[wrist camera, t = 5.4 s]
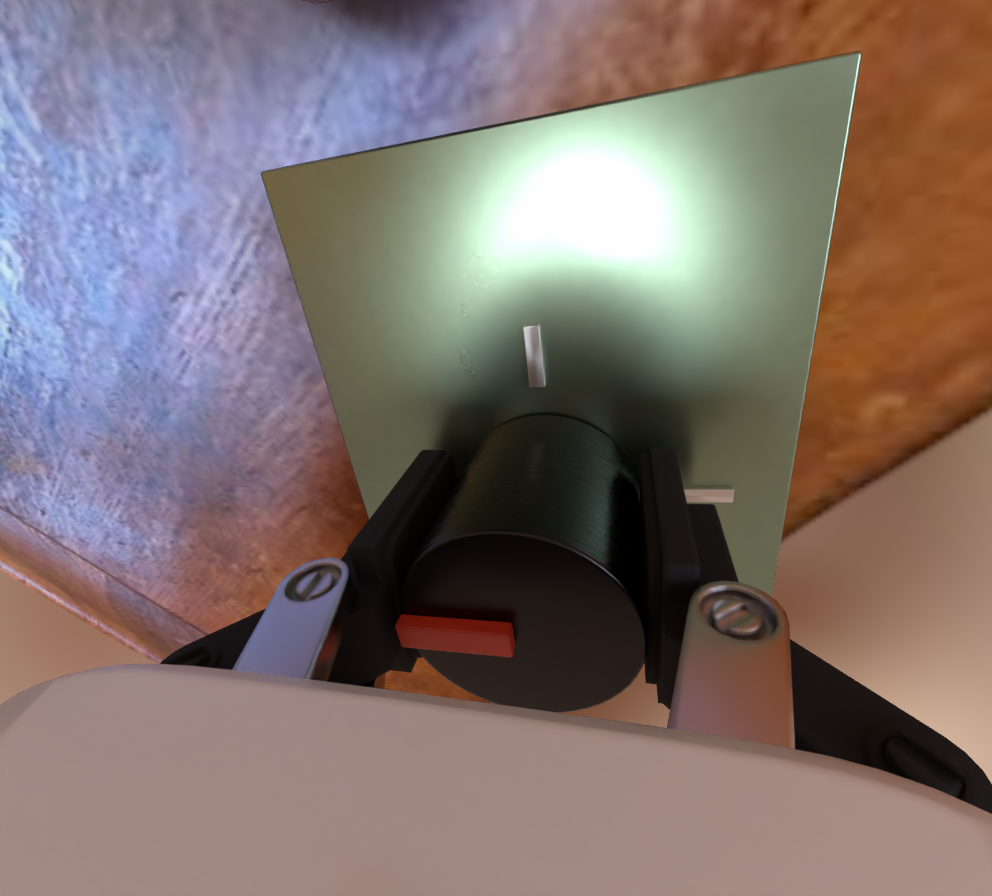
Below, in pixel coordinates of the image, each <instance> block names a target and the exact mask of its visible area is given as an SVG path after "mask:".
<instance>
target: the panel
mask: <svg viewBox="0 0 992 896" xmlns="http://www.w3.org/2000/svg"><path fill="white" fill-rule="evenodd" d="M861 58H862V52H860V51H855V52H850V53H845V54H840V55H835V56H830V57H825V58H820V59H815V60H810V61H805V62H800V63H795V64H790V65H786V66H781V67H776V68H771V69H766V70H761V71H756V72H751V73H746V74H741V75H736V76H731V77H726V78H721V79H716V80H711V81H706V82H701V83H696V84H692V85H687V86H682V87H677V88H672V89H667V90H662V91H657V92H652V93H647V94H642V95H637V96H632V97H627V98H622V99H617V100H612V101H607V102H602V103H598V104H593V105H588V106H583V107H578V108H573V109H568V110H563V111H558V112H553V113H548V114H543V115H538V116H533V117H528V118H523V119H518V120H513V121H508V122H504V123H499V124H494V125H489V126H484V127H479V128H474V129H469V130H464V131H459V132H454V133H449V134H444V135H439V136H434V137H429V138H424V139H419V140H414V141H410V142H405V143H400V144H395V145H390V146H385V147H380V148H375V149H370V150H365V151H360V152H355V153H350V154H345V155H340V156H335V157H330V158H325V159H321V160H316V161H311V162H306V163H301V164H296V165H291V166H286V167H281V168H276V169H271V170H266V171H263V172H261V176H262V180H263V183H264V186H265V189H266V192H267V196H268V199H269V202H270V205H271V208H272V212H273V215H274V218H275V221H276V224H277V227H278V231H279V234H280V237H281V240H282V243H283V247H284V250H285V253H286V256H287V259H288V263H289V266H290V269H291V272H292V275H293V279H294V282H295V285H296V288H297V291H298V295H299V298H300V301H301V304H302V307H303V311H304V314H305V317H306V320H307V323H308V326H309V330H310V333H311V336H312V339H313V342H314V346H315V349H316V352H317V355H318V358H319V362H320V365H321V368H322V371H323V374H324V378H325V381H326V384H327V387H328V390H329V394H330V397H331V400H332V403H333V406H334V410H335V413H336V416H337V419H338V422H339V426H340V429H341V432H342V435H343V438H344V441H345V445H346V448H347V451H348V454H349V457H350V461H351V464H352V467H353V470H354V473H355V477H356V480H357V483H358V486H359V489H360V493H361V496H362V499H363V502H364V505H365V509H366V512H367V515H368V518H369V519H370V518H371V516H372V515H373V514H374V512H375V511H376V510H377V508H378V507H379V506H380V504H381V503H382V502H383V500H384V499H385V498H386V497H387V495H388V494H389V493H390V491H391V490H392V489H393V487H394V486H395V485H396V483H397V482H398V481H399V479H400V478H401V477H402V475H403V474H404V473H405V471H406V470H407V469H408V467H409V466H410V465H411V464H412V462H413V461H414V460H415V458H416V457H417V456H418V454H419V453H420V452H421V451H422V450H445V452H446V453H447V455H451V456H452V457H453V459H454V463H455V469H456V474H457V479H459V477H460V475H461V473H462V472H463V470H464V468H465V466H466V464H467V463H468V461H469V459H470V457H471V455H472V454H473V452H474V450H475V448H476V447H477V446H478V444H479V443H480V442H481V441H482V440H483V439H484V438H485V437H486V436H487V435H488V434H489V433H490V432H492V431H493V430H494V429H496V428H497V427H499V426H501V425H503V424H505V423H507V422H510V421H513V420H515V419H519V418H523V417H527V416H536V415H554V416H561V417H567V418H570V419H574V420H577V421H580V422H583V423H585V424H588V425H590V426H591V427H593V428H595V429H597V430H599V431H600V432H602V433H603V434H604V435H606V436H607V437H609V438H610V439H611V440H612V441H613V442H614V443H615V444H616V445H617V446H618V447H619V448H620V449H621V450H622V452H623V453H624V454H625V455H626V457H627V459H628V460H629V462H630V464H631V466H632V468H633V470H634V473H635V476H636V480H637V483H638V493H639V492H640V454H649V449H650V448H675V451H676V456H677V460H678V465H679V469H680V474H681V479H682V483H683V488H684V492H685V497H686V502H687V504H714V505H715V507H716V509H717V513H718V516H719V519H720V522H721V526H722V529H723V532H724V535H725V539H726V542H727V545H728V549H729V552H730V555H731V558H732V562H733V565H734V568H735V571H736V575H737V578H738V581H739V582H740V583H744V584H747V585H750V586H753V587H756V588H757V589H759V590H761V591H763V592H765V593H767V594H768V595H770V596H771V597H772V591H773V586H774V580H775V574H776V568H777V561H778V555H779V550H780V544H781V538H782V532H783V526H784V520H785V514H786V508H787V502H788V496H789V490H790V484H791V478H792V472H793V466H794V460H795V454H796V448H797V442H798V436H799V430H800V424H801V418H802V412H803V406H804V400H805V394H806V388H807V382H808V376H809V370H810V364H811V358H812V352H813V346H814V340H815V334H816V328H817V322H818V316H819V310H820V304H821V298H822V292H823V286H824V280H825V274H826V268H827V262H828V256H829V250H830V244H831V238H832V232H833V226H834V220H835V214H836V208H837V202H838V196H839V190H840V184H841V178H842V172H843V166H844V160H845V154H846V148H847V142H848V136H849V130H850V124H851V118H852V112H853V106H854V100H855V94H856V88H857V82H858V76H859V70H860V64H861Z"/></svg>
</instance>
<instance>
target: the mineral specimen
mask: <svg viewBox="0 0 992 896" xmlns="http://www.w3.org/2000/svg"><path fill="white" fill-rule="evenodd" d="M303 1H307V2H310V3H324V2H334V1H337V0H303Z"/></svg>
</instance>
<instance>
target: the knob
mask: <svg viewBox="0 0 992 896" xmlns="http://www.w3.org/2000/svg"><path fill="white" fill-rule="evenodd" d="M400 610H401V615H400V617H399V619H398V621H397V623H396V625H395V628H396V631H397V634H398V637H399V640H400V643H401V646H402V647H407V648H416V649H417V650H418V651H419V653H420V654H421V655H422V656H423V658H424V659H425V660H426V661H427V662H428V663H429V664H430V665H431V666H432V667H433V668H434V669H435V670H436V671H438V672H439V673H440V674H441V675H442V676H444V677H445V678H446V679H448V680H449V681H450V682H452V683H454V684H455V685H457V686H458V687H460V688H462V689H463V690H465V691H467V692H469V693H471V694H473V695H475V696H477V697H480V698H482V699H485V700H487V701H490V702H493V703H496V704H499V705H506V706H513V707H521V708H528V709H535V710H542V711H549V712H556V713H561V712H571V711H577V710H582V709H587V708H590V707H593V706H596V705H599V704H601V703H604V702H606V701H608V700H610V699H612V698H614V697H615V696H617V695H618V694H620V693H621V692H622V691H624V690H625V689H626V688H627V687H628V686H629V685H630V684H631V683H632V682H633V681H634V679H635V678H636V677H637V675H638V674H639V672H640V670H641V668H642V666H643V664H644V661H645V658H646V655H647V650H648V628H647V613H646V598H645V583H644V568H643V553H642V538H641V523H640V508H639V493H638V483H637V480H636V476H635V473H634V470H633V468H632V466H631V464H630V462H629V460H628V459H627V457H626V455H625V454H624V453H623V452H622V450H621V449H620V448H619V447H618V446H617V445H616V444H615V443H614V442H613V441H612V440H611V439H610V438H609V437H607V436H606V435H604V434H603V433H602V432H600V431H599V430H597V429H595V428H593V427H591V426H590V425H588V424H585V423H583V422H580V421H577V420H574V419H570V418H567V417H561V416H554V415H536V416H527V417H523V418H519V419H515V420H513V421H510V422H507V423H505V424H503V425H501V426H499V427H497V428H496V429H494V430H493V431H492V432H490V433H489V434H488V435H487V436H486V437H485V438H484V439H483V440H482V441H481V442H480V443H479V444H478V446H477V447H476V448H475V450H474V452H473V454H472V455H471V457H470V459H469V461H468V463H467V464H466V466H465V468H464V470H463V472H462V473H461V475H460V477H459V479H458V481H457V482H456V484H455V486H454V488H453V490H452V491H451V493H450V495H449V497H448V499H447V500H446V502H445V504H444V506H443V508H442V509H441V511H440V513H439V515H438V517H437V518H436V520H435V522H434V524H433V526H432V527H431V529H430V531H429V533H428V535H427V537H426V538H425V540H424V542H423V544H422V546H421V547H420V549H419V551H418V553H417V555H416V556H415V558H414V560H413V562H412V564H411V565H410V567H409V569H408V571H407V573H406V575H405V577H404V580H403V583H402V586H401V593H400Z"/></svg>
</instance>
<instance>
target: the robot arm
mask: <svg viewBox="0 0 992 896" xmlns="http://www.w3.org/2000/svg"><path fill="white" fill-rule="evenodd" d="M457 481H458V479H457V474H456V469H455V463H454V459H453V457H452V456H451V455H447V453H446V452H445V450H422V451H421V452H420V453H419V454H418V456H417V457H416V458H415V460H414V461H413V462H412V464H411V465H410V466H409V467H408V469H407V470H406V471H405V473H404V474H403V475H402V477H401V478H400V479H399V481H398V482H397V483H396V485H395V486H394V487H393V489H392V490H391V491H390V493H389V494H388V495H387V497H386V498H385V499H384V500H383V502H382V503H381V504H380V506H379V507H378V508H377V510H376V511H375V512H374V514H373V515H372V516H371V518H370V519H369V520H368V522H367V523H366V524H365V526H364V527H363V528H362V530H361V531H360V532H359V534H358V535H357V536H356V537H355V539H354V540H353V541H352V543H351V544H350V545H349V547H348V551H347V552H346V554H345V555H344V556H343V558H342V559H341V560H339V559H336V558H322V559H317V560H313V561H311V562H308V563H305V564H303V565H301V566H300V567H298V568H296V569H295V570H293V571H292V572H291V573H289V574H288V575H287V576H286V577H285V578H284V579H283V581H282V582H281V583H280V585H279V586H278V588H277V590H276V592H275V594H274V595H273V597H272V599H271V601H270V602H269V604H268V606H267V608H266V609H264V610H262V611H260V612H257V613H255V614H253V615H251V616H249V617H246V618H244V619H242V620H240V621H238V622H236V623H233V624H231V625H229V626H227V627H225V628H223V629H220V630H218V631H216V632H214V633H212V634H209V635H207V636H205V637H203V638H201V639H199V640H196V641H194V642H192V643H190V644H188V645H186V646H184V647H182V648H180V649H179V650H177V651H175V652H174V653H172V654H171V655H170V656H168V657H167V658H166V659H164V660H163V661H162V662H161V663H160V664H127V665H118V666H110V667H101V668H95V669H91V670H86V671H82V672H78V673H74V674H69V675H65V676H61V677H58V678H55V679H52V680H49V681H46V682H43V683H41V684H39V685H36V686H33V687H31V688H28V689H26V690H24V691H22V692H20V693H18V694H17V695H15V696H13V697H12V698H10V699H8V700H7V701H5V702H4V703H2V704H1V705H0V896H992V784H991V782H990V781H989V780H988V778H987V776H986V774H985V773H984V772H983V770H982V769H981V768H980V767H979V766H978V765H977V764H976V763H975V762H974V761H973V760H972V759H971V758H970V757H969V756H968V755H967V754H966V753H965V752H964V751H963V750H961V749H960V748H959V747H957V746H956V745H955V744H953V743H952V742H951V741H949V740H948V739H947V738H945V737H944V736H942V735H941V734H939V733H937V732H936V731H934V730H933V729H931V728H930V727H928V726H926V725H925V724H923V723H922V722H920V721H919V720H917V719H915V718H914V717H912V716H911V715H909V714H908V713H906V712H904V711H903V710H901V709H899V708H898V707H896V706H895V705H893V704H892V703H890V702H889V701H887V700H885V699H884V698H882V697H881V696H879V695H877V694H876V693H874V692H873V691H871V690H870V689H868V688H866V687H865V686H863V685H862V684H860V683H859V682H857V681H855V680H854V679H852V678H851V677H849V676H847V675H846V674H844V673H843V672H841V671H840V670H838V669H836V668H835V667H833V666H832V665H830V664H829V663H827V662H825V661H824V660H822V659H821V658H819V657H817V656H816V655H814V654H813V653H811V652H809V651H808V650H806V649H805V648H803V647H802V646H800V645H798V644H797V643H795V642H794V641H792V640H791V639H790V632H789V622H788V618H787V615H786V612H785V611H784V610H783V608H782V607H781V606H780V604H779V603H778V602H777V601H776V600H775V599H773V598H772V597H771V596H770V595H768V594H767V593H765V592H763V591H761V590H759V589H757V588H756V587H753V586H750V585H747V584H744V583H740V582H739V581H738V578H737V575H736V571H735V568H734V565H733V562H732V558H731V555H730V552H729V549H728V545H727V542H726V539H725V535H724V532H723V529H722V526H721V522H720V519H719V516H718V513H717V509H716V507H715V505H714V504H687V502H686V497H685V492H684V488H683V483H682V479H681V474H680V469H679V465H678V460H677V456H676V451H675V448H650V449H649V454H640V492H639V508H640V523H641V538H642V553H643V568H644V583H645V598H646V613H647V628H648V650H647V655H646V658H645V678H646V683H650V684H657V695H658V703H663V704H664V705H665V706H666V707H667V708H668V709H670V714H669V719H668V725H667V728H663V727H656V726H649V725H641V724H635V723H628V722H620V721H613V720H606V719H598V718H592V717H585V716H577V715H570V714H563V713H556V712H549V711H542V710H535V709H528V708H521V707H513V706H506V705H499V704H491V703H484V702H476V701H469V700H462V699H454V698H447V697H439V696H432V695H424V694H417V693H409V692H402V691H394V690H387V689H383V688H384V684H385V673H386V672H388V671H389V670H395V671H403V672H412V669H413V667H414V665H415V662H416V660H417V658H418V657H419V658H421V657H423V656H422V655H421V654H420V653H419V651H418V650H417V649H416V648H407V647H402V646H401V643H400V640H399V637H398V634H397V631H396V628H395V625H396V623H397V621H398V619H399V617H400V615H401V610H400V593H401V586H402V583H403V580H404V577H405V575H406V573H407V571H408V569H409V567H410V565H411V564H412V562H413V560H414V558H415V556H416V555H417V553H418V551H419V549H420V547H421V546H422V544H423V542H424V540H425V538H426V537H427V535H428V533H429V531H430V529H431V527H432V526H433V524H434V522H435V520H436V518H437V517H438V515H439V513H440V511H441V509H442V508H443V506H444V504H445V502H446V500H447V499H448V497H449V495H450V493H451V491H452V490H453V488H454V486H455V484H456V482H457Z"/></svg>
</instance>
